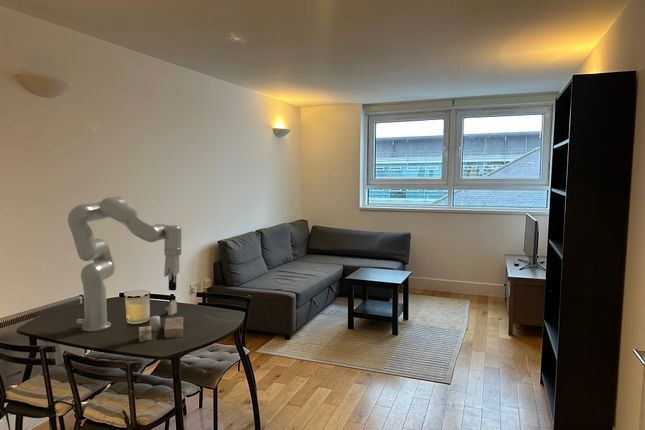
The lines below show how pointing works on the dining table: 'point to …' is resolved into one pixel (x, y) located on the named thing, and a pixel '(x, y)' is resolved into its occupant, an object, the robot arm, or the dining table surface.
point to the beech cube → (145, 333)
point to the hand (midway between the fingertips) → (172, 289)
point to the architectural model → (172, 307)
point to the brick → (173, 327)
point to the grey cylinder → (155, 323)
